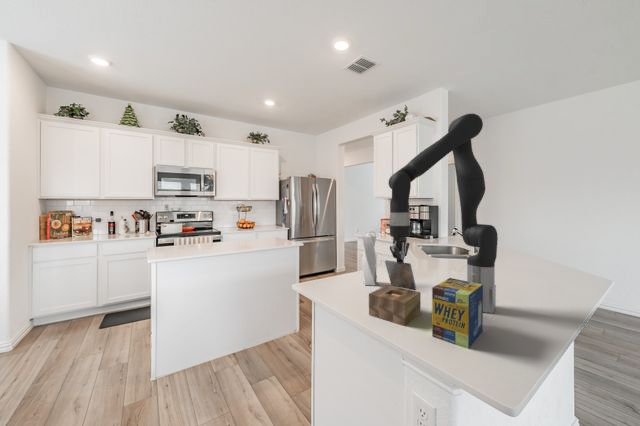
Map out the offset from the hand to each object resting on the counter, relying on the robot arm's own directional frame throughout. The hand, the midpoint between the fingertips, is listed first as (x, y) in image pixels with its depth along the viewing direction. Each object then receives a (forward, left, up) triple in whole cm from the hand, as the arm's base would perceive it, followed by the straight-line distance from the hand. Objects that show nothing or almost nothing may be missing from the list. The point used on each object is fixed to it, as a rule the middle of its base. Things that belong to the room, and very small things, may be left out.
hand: (400, 268), depth 102 cm
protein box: (-22, +6, -17) cm, 28 cm away
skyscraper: (+27, -22, -17) cm, 38 cm away
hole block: (0, +5, -16) cm, 17 cm away
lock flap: (0, +1, -3) cm, 3 cm away
